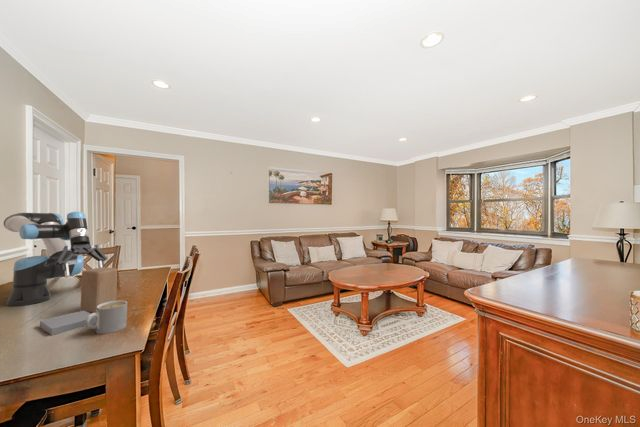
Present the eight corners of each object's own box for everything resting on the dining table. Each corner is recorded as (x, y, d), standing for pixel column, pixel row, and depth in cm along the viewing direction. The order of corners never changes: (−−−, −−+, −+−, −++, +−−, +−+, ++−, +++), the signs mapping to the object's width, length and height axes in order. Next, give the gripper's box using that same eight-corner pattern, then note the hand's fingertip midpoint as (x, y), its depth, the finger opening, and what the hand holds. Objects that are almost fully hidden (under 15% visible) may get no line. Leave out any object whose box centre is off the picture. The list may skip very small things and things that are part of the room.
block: (95, 314, 118) (97, 272, 119) (79, 311, 120) (81, 270, 121) (116, 306, 128) (118, 268, 128) (101, 304, 130) (102, 266, 130)
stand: (39, 326, 104) (39, 320, 104) (83, 315, 116) (83, 310, 116) (51, 335, 97) (52, 328, 97) (97, 322, 109) (97, 316, 109)
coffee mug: (123, 321, 112) (124, 298, 112) (128, 328, 105) (130, 304, 105) (82, 331, 101) (83, 306, 102) (85, 339, 95) (87, 313, 95)
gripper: (49, 235, 124) (54, 275, 118) (110, 234, 145) (116, 268, 140) (44, 242, 126) (48, 281, 120) (104, 240, 148) (110, 273, 142)
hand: (85, 274), depth 130 cm, fingers open, 13 cm apart
